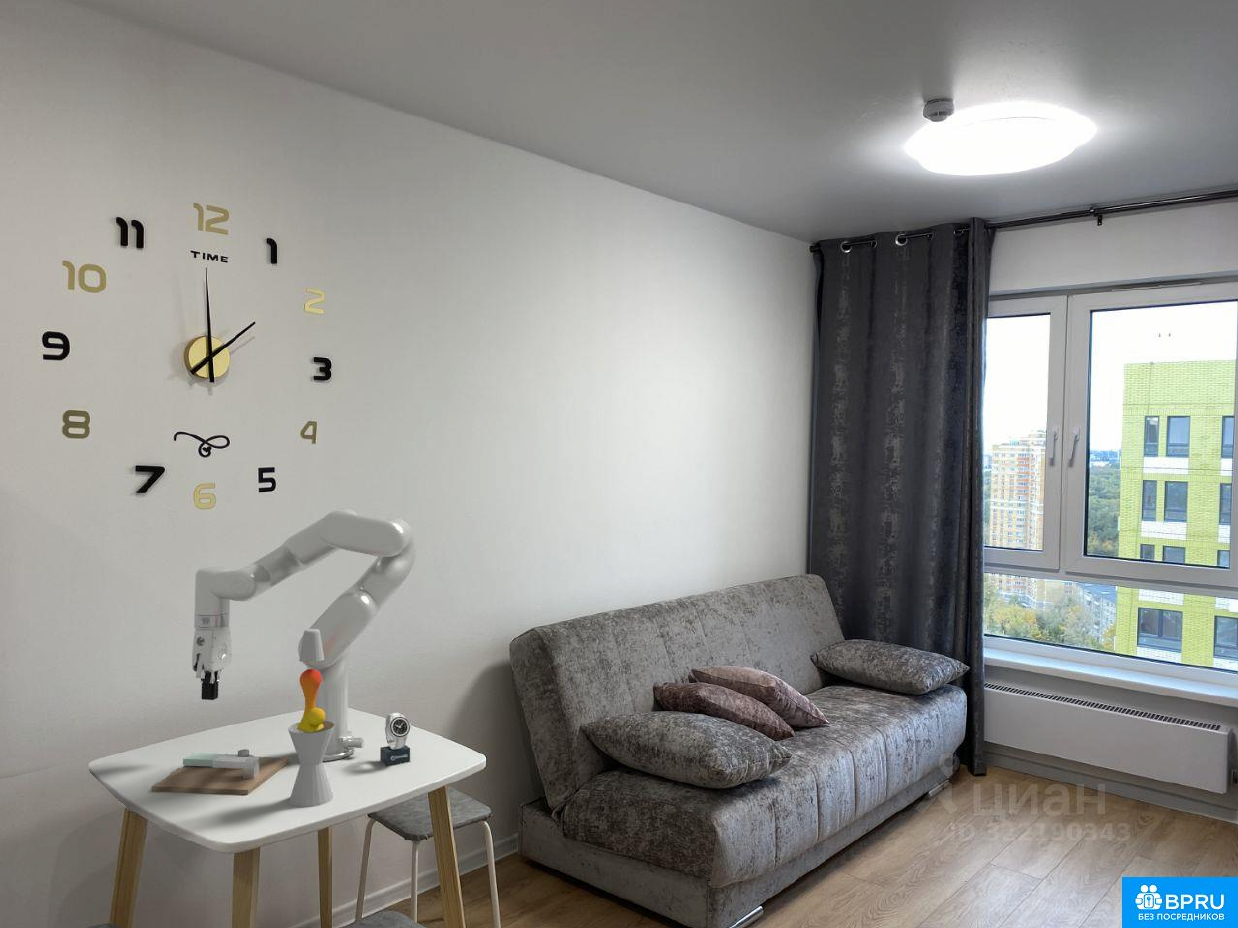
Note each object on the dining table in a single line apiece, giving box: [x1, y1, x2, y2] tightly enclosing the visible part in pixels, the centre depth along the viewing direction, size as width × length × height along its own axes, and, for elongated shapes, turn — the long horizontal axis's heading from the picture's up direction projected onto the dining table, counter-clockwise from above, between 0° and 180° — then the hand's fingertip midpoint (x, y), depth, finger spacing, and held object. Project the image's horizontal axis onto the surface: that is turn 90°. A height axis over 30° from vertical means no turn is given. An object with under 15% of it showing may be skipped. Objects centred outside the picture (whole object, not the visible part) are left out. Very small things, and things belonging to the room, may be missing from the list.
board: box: [151, 748, 290, 795], centre depth 203 cm, size 21×20×4 cm
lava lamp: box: [287, 628, 334, 808], centre depth 190 cm, size 9×9×35 cm
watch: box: [379, 712, 412, 767], centre depth 213 cm, size 6×8×11 cm
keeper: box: [212, 756, 259, 779], centre depth 200 cm, size 9×3×4 cm, turn 86°
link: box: [182, 752, 255, 767], centre depth 207 cm, size 15×4×2 cm, turn 86°
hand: (209, 698), depth 215 cm, fingers closed
